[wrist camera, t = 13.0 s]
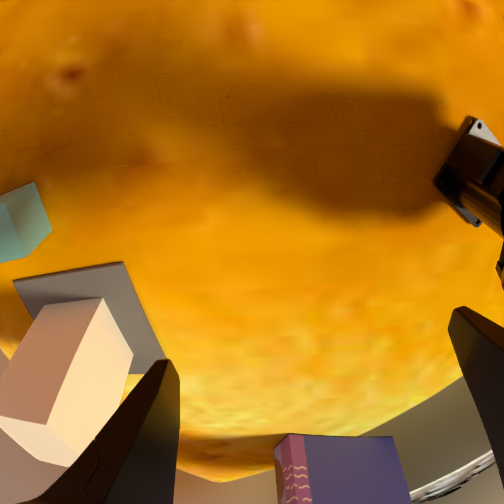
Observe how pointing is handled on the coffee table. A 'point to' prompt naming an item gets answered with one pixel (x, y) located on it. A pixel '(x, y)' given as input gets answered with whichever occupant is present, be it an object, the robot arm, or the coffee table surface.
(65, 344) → the white boxy piece
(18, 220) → the teal cube
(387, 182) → the coffee table surface
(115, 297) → the mat
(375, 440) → the cereal box
